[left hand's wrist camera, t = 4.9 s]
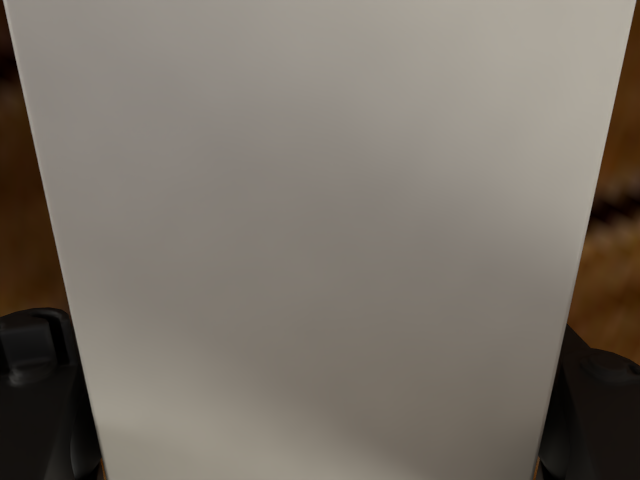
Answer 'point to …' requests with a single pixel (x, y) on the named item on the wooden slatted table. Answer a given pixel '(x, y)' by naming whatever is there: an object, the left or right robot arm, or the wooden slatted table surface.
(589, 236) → the wooden slatted table surface
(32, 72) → the post
